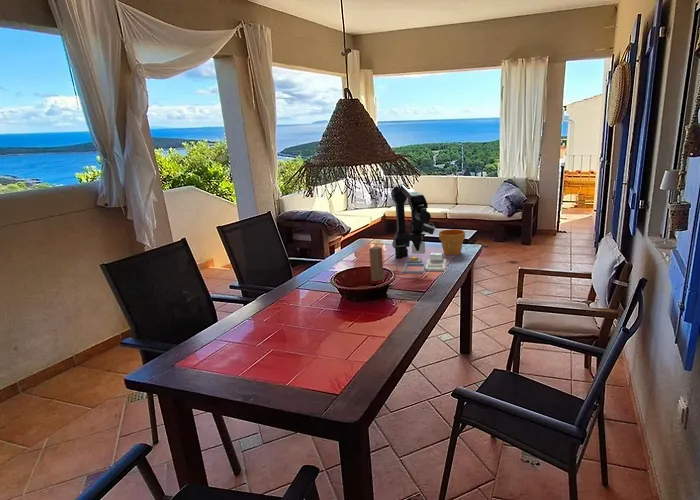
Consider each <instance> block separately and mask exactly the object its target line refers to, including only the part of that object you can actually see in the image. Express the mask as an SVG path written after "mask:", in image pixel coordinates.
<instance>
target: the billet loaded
mask: <svg viewBox="0 0 700 500" xmlns="http://www.w3.org/2000/svg"><path fill="white" fill-rule="evenodd" d="M443 255H444V252H431V253H430V255H429V256H430V258H429V259H431V262H443V259H444V256H443Z"/></svg>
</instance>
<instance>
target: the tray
mask: <svg viewBox="0 0 700 500" xmlns="http://www.w3.org/2000/svg"><path fill="white" fill-rule="evenodd" d="M426 264H427V262H425V263H424V262H421V263H407V262H406V263H405V265H404V267H403V269H402V274H423V273H424V271H425V267H426ZM407 266H423V267H422V269H421V270H406V269H407V268H408V267H407Z"/></svg>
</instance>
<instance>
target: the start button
mask: <svg viewBox="0 0 700 500" xmlns="http://www.w3.org/2000/svg"><path fill="white" fill-rule="evenodd" d="M410 258H411V261H418V258H419V257H417V256H411V257H410Z"/></svg>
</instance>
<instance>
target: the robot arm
mask: <svg viewBox="0 0 700 500" xmlns="http://www.w3.org/2000/svg"><path fill="white" fill-rule="evenodd" d="M397 186H398V185H396V186H395V187H393V188H394V189H393V188H392V189H391V190H390V191H391V192H390V195H391V198H392V199H391V200H392V201H393V202H394V205H395V217H396V231H395V233H394V236H393V241H392V243H391V244H392V247H393V249H395V250H394V254H395V257H394V259H397V260H399V259H400V260H402V258H407V257H408V256H409V247H410V244H412V243H413V244H414V246H415V248H416V250H417V251H419V248H420V242H423V239H424V237H425V235H426V234H429V235H434V232H435V229H436V226H435V225H434V223H433V222H430V220H431V219H432V218H431V217H432V215H431V213H430V212H429V211H427V210H428V202H427V198H426V197H425V196H424V194H423V193H421V192H418V191H415V190H414V189H413V188H412V187H411V188H410V189H407V188H406V187H405V186H404V185H403V184H401V188H398V187H397ZM406 202H407V203H408V204H409V205H408V206H409V208H410V213H411V214H410V216H411V221H410V225H411V231H410V232H411V233H408V231H407V230H406V215H405V204H406ZM411 242H412V243H411Z"/></svg>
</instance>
